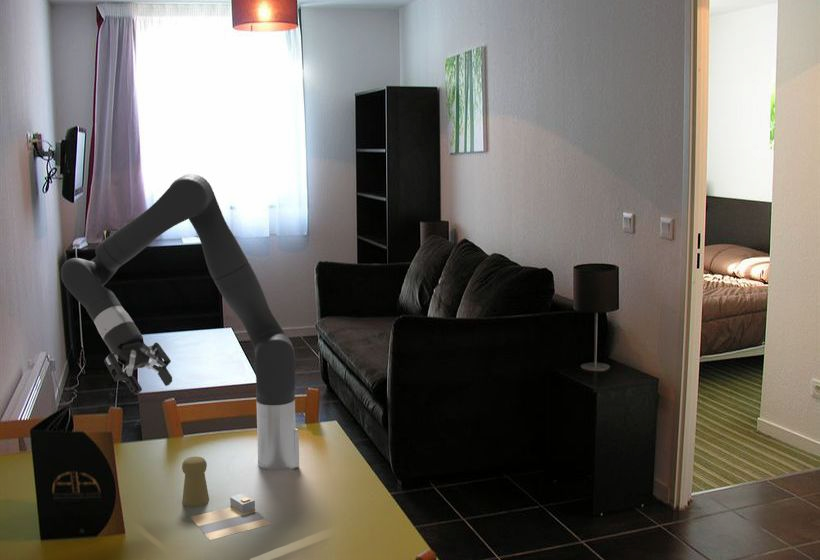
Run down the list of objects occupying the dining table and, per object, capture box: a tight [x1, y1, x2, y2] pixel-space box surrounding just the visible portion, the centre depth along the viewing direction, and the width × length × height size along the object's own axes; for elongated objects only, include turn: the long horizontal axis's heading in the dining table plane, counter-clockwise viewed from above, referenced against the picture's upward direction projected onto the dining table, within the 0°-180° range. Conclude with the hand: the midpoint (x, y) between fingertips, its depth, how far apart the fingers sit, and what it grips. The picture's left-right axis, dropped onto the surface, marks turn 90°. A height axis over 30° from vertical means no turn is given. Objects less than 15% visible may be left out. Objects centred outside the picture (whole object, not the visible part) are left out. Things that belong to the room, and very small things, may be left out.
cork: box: [181, 455, 210, 508], centre depth 181 cm, size 6×6×11 cm
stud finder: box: [229, 492, 256, 513], centre depth 179 cm, size 3×5×2 cm, turn 42°
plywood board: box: [190, 506, 272, 541], centre depth 173 cm, size 13×12×1 cm
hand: (154, 388), depth 184 cm, fingers open, 8 cm apart
